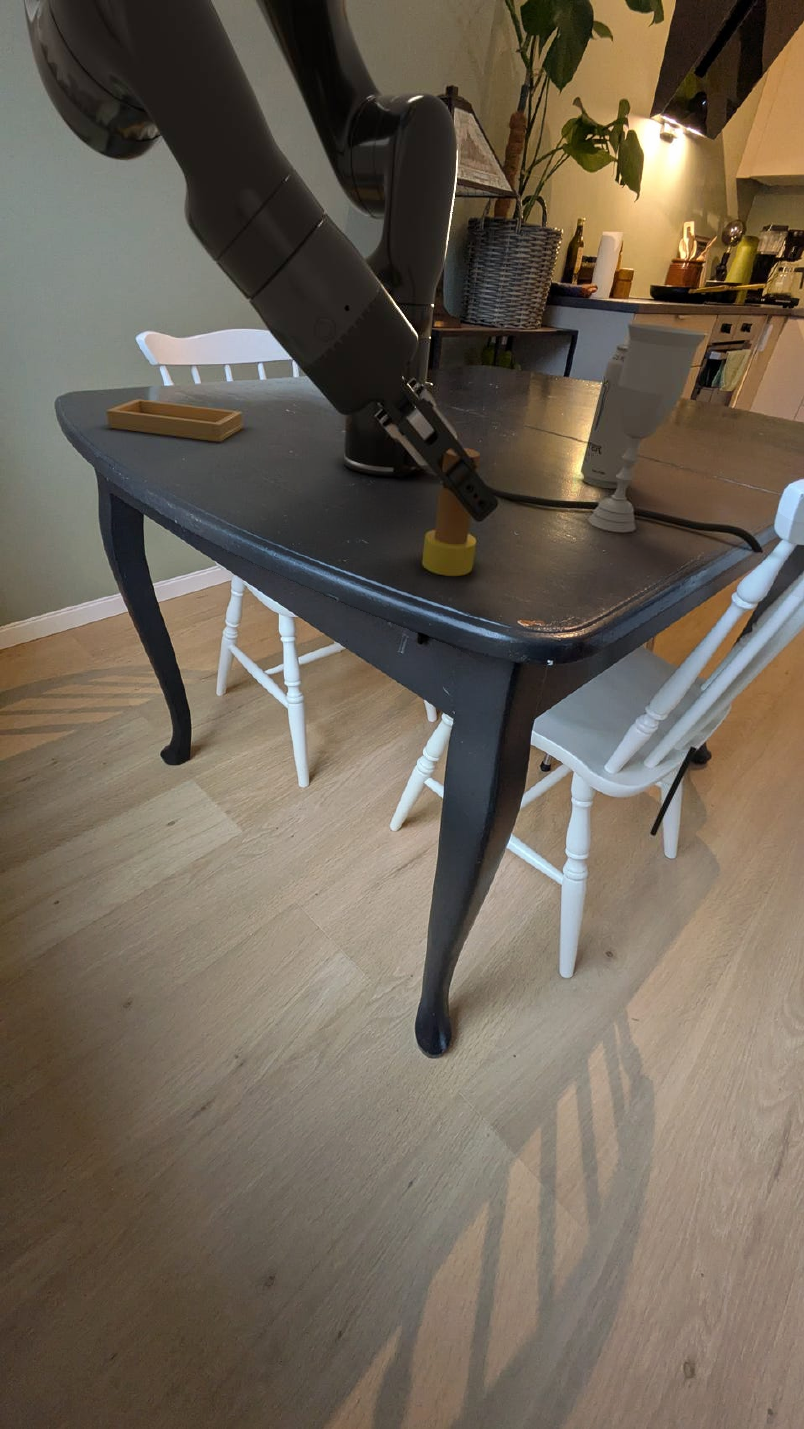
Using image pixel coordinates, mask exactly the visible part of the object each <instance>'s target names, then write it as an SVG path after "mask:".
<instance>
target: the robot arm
mask: <svg viewBox="0 0 804 1429" xmlns="http://www.w3.org/2000/svg"><path fill="white" fill-rule="evenodd" d="M254 2H255V5H256V6H257V8H258V10H259V12H260V15H261V16H262V18H263V20H264V22H265V25H266V26H267V28H268V31H269V33H270V34H271V37H272V38H273V41H274V43H275V45H276V47H277V48H278V51H279V53H280V54H281V56H282V59H283V61H284V63H285V65H286V66H287V69H288V71H289V72H290V75H291V77H292V79H293V81H294V83H295V86H296V88H297V90H298V91H299V92H298V93H299V95H300V97H301V98H302V101H303V103H304V106H305V109H306V111H307V113H308V115H309V118H310V121H311V123H312V125H313V127H314V129H315V133H316V135H317V137H318V139H319V142H320V144H321V148H322V149H323V152H324V154H325V156H326V159H327V162H328V164H329V166H330V168H331V170H332V173H333V175H334V178H335V179H336V182H337V184H338V185H339V188H340V190H341V191H342V194H343V195H344V196H345V199H346V201H348V203H349V204H350V205H351V207H352V208H353V209H354V210H356V211H357V212H358V213H359V214H361V215H363V216H364V217H368V218H371V219H374V220H382V221H383V223H382V229H381V236H380V238H379V242H378V244H377V245H376V247H375V248H373V250H372V252H370V253H369V254H368V255H367V256H365V257H364V256H363V255H362V254H361V252H360V251H359V250H358V248H357V247H356V245H355V244H354V243H353V242H352V241H351V240H350V239H349V237H348V236H347V235H346V234H345V233H344V232H343V230H341V228H339V227H338V225H337V224H336V223H335V222H334V221H333V219H332V218H331V217H330V216H329V214H328V213H327V212H325V209H324V208H323V206H322V205H321V204H320V202H319V201H318V199H317V198H316V197H315V195H314V194H313V192H312V191H311V190H310V188H309V187H308V185H307V184H306V183H305V181H304V180H303V178H302V177H301V175H300V174H299V172H298V171H297V170H296V169H295V168H294V166H293V165H292V163H291V162H290V160H289V159H288V158H287V157H286V156H285V154H284V152H282V150H281V148H280V147H279V146H278V144H277V143H276V140H275V138H274V135H273V134H272V132H271V129H270V127H269V125H268V122H267V120H266V117H265V115H264V112H263V109H262V107H261V104H260V102H259V100H258V98H257V96H256V93H255V91H254V89H253V87H252V85H251V83H250V81H249V78H248V76H247V74H246V72H245V70H244V68H243V66H242V63H241V62H240V59H239V57H238V55H237V52H236V50H235V49H234V46H233V44H232V42H231V40H230V38H229V36H228V33H227V31H226V29H225V27H224V25H223V23H222V21H221V19H220V16H219V14H218V11H217V10H216V8H215V6H214V4H213V2H212V0H23V6H24V14H25V22H26V27H27V32H28V38H29V42H30V47H31V52H32V55H33V59H34V62H35V66H36V69H37V73H38V75H39V77H40V78H39V79H40V80H41V82H42V86H43V88H44V90H45V93H46V94H47V96H48V98H49V101H50V102H51V104H52V105H53V107H54V109H55V111H56V113H57V114H58V115H59V117H60V119H62V121H63V122H64V124H65V125H66V126H67V128H68V129H69V130H70V131H71V132H72V133H73V134H74V136H76V137H77V139H78V140H80V141H81V142H82V143H83V144H84V145H86V146H87V147H88V148H89V149H91V150H92V151H94V152H95V153H97V154H99V155H101V156H103V157H105V158H108V159H112V160H116V161H121V162H122V161H123V162H129V161H135V160H139V159H142V158H143V157H144V158H145V157H146V156H147V155H148V154H150V153H152V151H153V150H155V149H156V148H157V147H158V146H159V145H160V144H161V142H162V140H163V141H164V142H165V144H166V146H167V147H168V150H169V151H170V152H171V155H172V156H173V158H174V159H175V161H176V163H177V164H178V166H179V168H180V170H181V172H182V174H183V178H184V181H185V194H184V195H185V197H184V202H183V203H184V206H183V213H184V218H185V222H186V224H187V227H188V229H189V232H191V234H192V236H193V237H194V238H195V240H196V241H197V243H198V244H199V245H200V246H201V248H202V249H203V250H204V251H205V253H206V254H207V255H208V256H209V257H210V258H211V260H212V261H213V262H214V263H215V265H217V266H218V268H219V269H220V270H221V271H222V272H223V273H224V275H225V276H226V277H227V279H228V280H229V281H230V282H231V283H232V284H233V286H235V287H236V289H237V290H238V291H239V292H240V293H241V294H242V296H243V297H244V298H245V299H246V300H248V303H249V305H250V306H251V307H252V309H253V310H254V311H255V312H256V314H257V315H258V317H259V318H260V320H261V321H262V323H263V324H264V326H265V327H266V329H267V330H268V332H269V333H270V334H271V336H272V337H273V338H274V339H275V340H276V342H277V343H278V344H279V345H280V347H282V349H283V350H284V351H285V352H286V353H287V355H288V356H289V357H290V358H291V359H292V360H293V361H294V362H295V364H296V365H297V366H298V367H299V368H300V369H301V371H302V372H303V373H304V374H305V375H306V376H307V378H308V379H309V380H310V381H311V382H312V384H313V385H314V386H315V387H316V389H318V391H319V392H320V393H321V394H322V395H323V396H324V397H325V398H326V400H327V401H328V402H329V403H330V405H332V407H333V408H334V409H335V410H336V411H337V412H338V413H339V414H341V415H344V416H345V419H344V420H345V422H344V453H343V465H345V467H347V468H349V469H351V470H353V471H355V472H359V473H362V474H368V475H373V476H382V477H395V478H398V479H403V478H406V477H408V476H410V475H413V474H414V473H416V472H419V471H421V470H427V469H430V470H432V471H433V473H434V474H435V476H436V477H437V478H438V479H439V480H440V485H441V484H442V486H443V487H444V488H445V489H448V490H449V491H450V492H451V491H452V493H453V494H454V495H455V496H456V498H457V499H458V500H459V501H460V503H461V504H462V505H463V506H464V508H465V509H466V510H467V511H468V513H469V514H470V515H471V517H472V519H473V520H474V521H475V522H477V523H479V522H483V521H484V520H485V519H486V518H487V517H488V516H490V514H492V513H493V512H494V511H495V510H496V509H497V508H498V506H499V501H498V499H497V498H496V497H498V498H501V499H504V500H508V501H512V502H513V501H514V502H518V503H524V504H530V505H535V506H541V507H547V508H557V509H558V508H559V509H574V510H575V509H577V510H593V511H594V510H595V509H596V508H597V507H598V506H599V505H598V504H599V503H600V502H601V501H600V502H599V501H581V500H564V499H563V500H562V499H552V498H551V499H550V498H545V497H540V496H539V497H538V496H533V495H526V494H521V493H514V492H510V491H504V490H502V489H498V488H494V487H492V486H490V485H488V484H486V483H485V482H484V481H483V479H482V478H481V476H480V475H479V474H478V472H477V473H476V471H475V469H476V468H477V466H476V465H475V464H474V463H475V460H474V459H473V458H472V457H469V456H468V454H467V453H466V452H465V450H464V449H463V448H464V447H463V446H462V445H461V444H460V442H459V441H458V435H457V432H456V430H455V428H454V427H453V426H452V424H451V423H450V422H449V421H448V420H447V418H446V417H445V416H444V414H442V412H441V411H440V410H439V408H437V403H436V400H435V398H434V396H433V394H434V385H433V383H432V382H428V370H429V361H430V349H431V339H432V337H431V336H432V329H433V320H434V319H433V317H434V307H435V305H434V304H435V301H436V300H435V299H436V291H437V288H438V284H439V282H440V279H441V276H442V274H443V270H444V267H445V262H446V255H447V249H448V241H449V235H450V228H451V227H450V226H451V222H452V221H451V220H452V214H453V213H452V212H453V207H454V201H455V200H454V199H455V193H456V186H457V177H458V176H457V174H458V140H457V132H456V126H455V122H454V119H453V116H452V114H451V112H450V109H449V108H448V106H447V104H446V103H445V102H444V101H443V100H442V99H441V98H439V97H438V96H436V95H435V94H432V93H427V92H407V93H394V94H383V93H382V92H381V91H380V90H379V88H378V87H377V85H376V83H375V81H374V79H373V78H372V76H371V74H370V71H369V70H368V67H367V65H366V63H365V61H364V58H363V55H362V53H361V51H360V48H359V46H358V43H357V40H356V38H355V35H354V32H353V29H352V25H351V22H350V18H349V14H348V9H347V4H346V0H254ZM449 449H451V450H452V451H453V452H454V453H455V455H456V456H457V457H458V458H459V459H458V460H457V461H456V462H454V463H453V464H452V465H451V466H450V467H449V468H448V469H447V470H446V471H445V472H443V471H442V468H443V459H444V454H445V453H446V452H447V451H448V450H449ZM632 507H633V509H634V511H633V514H634V516H635V517H636V516H637V517H640V518H641V517H642V518H645V519H651V520H655V521H659V522H663V523H666V524H670V525H674V526H679V527H681V528H682V527H683V528H686V529H690V530H694V531H695V530H696V531H702V532H703V531H704V532H714V533H722V534H723V533H724V534H729V535H732V536H735V537H738V538H740V539H741V540H742V541H744V542H745V543H746V544H747V545H748V546H749V547H750V549H751V551H753V552H756V553H759V554H763V553H764V550H763V548H762V546H761V544H760V543H759V541H758V540H757V538H755V536H753V535H752V534H751V533H749V531H747V530H745V529H743V528H741V527H738V526H736V525H735V526H734V525H729V524H723V523H722V524H721V523H710V522H709V523H708V522H700V521H695V520H691V519H686V518H682V517H678V516H674V515H670V514H666V513H661V512H658V511H653V510H648V509H644V508H639V507H634V506H632ZM697 750H698V748H697V747H694V746H690V747H689V749H688V751H687V753H686V755H685V757H684V759H683V761H682V763H681V765H680V767H679V769H678V771H677V774H676V776H675V778H674V779H673V782H672V784H671V786H670V788H669V790H668V792H667V794H666V796H665V799H664V801H663V803H662V805H661V808H660V809H659V811H658V813H657V815H656V818H655V820H654V823H653V825H652V827H651V830H650V832H649V833H650V835H651V836H653V837H655V836H656V835H657V833H658V831H659V828H660V827H661V824H662V822H663V820H664V818H665V815H666V813H667V811H668V809H669V806H670V805H671V802H672V801H673V798H674V797H675V794H676V792H677V790H678V788H679V787H680V784H681V782H682V780H683V778H684V776H685V774H686V772H687V770H688V768H689V766H690V764H691V762H692V760H693V758H694V756H695V754H696V752H697Z"/></svg>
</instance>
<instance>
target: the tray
mask: <svg viewBox="0 0 804 1429" xmlns="http://www.w3.org/2000/svg"><path fill="white" fill-rule="evenodd" d="M106 417H107V422H108V427H109V428H110V429H117V430H123V431H130V432H132V431H133V432H141V433H148V434H155V435H162V436H171V437H179V438H186V439H187V438H188V439H194V440H202V441H210V442H217V443H221V442H222V441H224V440H226V439H227V438H229V437H231V436H233V435H234V434H235V433H237V432H239V431H240V430H241V429H243V415H242V411H235V410H229V409H220V408H213V407H204V406H197V405H187V404H179V403H172V402H164V401H156V400H148V399H142V398H141V399H140V398H136V399H134V400H133V399H132V400H131V401H128V402H125V403H123V404H120V405H117V406H115V407H111V408H109V409H107V410H106Z"/></svg>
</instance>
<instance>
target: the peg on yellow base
mask: <svg viewBox="0 0 804 1429" xmlns="http://www.w3.org/2000/svg"><path fill="white" fill-rule="evenodd" d="M462 448H463V449H464V450H465V452H466V453H467V454H468V456H469V457H472V458H473V459H474V460H475V463H474V464H475V465H476V466H477V468H476V469H475V471H476V473H477V474H478V470H479V465H480V464H479V463H480V458H481V457H480V456H481V454H480V452H478V451H476V450H474V449H471V448H466V447H462ZM458 459H459V458H458V457H457V456H456V455H455V453H454V452H453V451H452V450H451V449H449V450H448V451H447V452H446V453H445V454H444V459H443V468H442V471H443V472H445V471H446V470H447V469H448V468H449V467H450V466H451V465H452V464H453V463H454V462H456V461H457V460H458ZM471 517H472V516H471V515H470V514H469V513H468V511H467V510H466V509H465V508H464V506H463V505H462V504H461V503H460V501H459V500H458V499H457V498H456V496H455V495H454V494H453V493H452V491H451V492H450V491H449V490H448V489H445V488H444V487H443V486H442V484H441V483H440V485H439V494H438V504H437V511H436V520H435V528H434V529H432V530H429V531H427V532H426V533H425V535H424V541H423V542H424V543H423V553H422V561H421V563H422V567H423V568H425V570H427V571H428V572H431V573H433V574H435V575H441V576H445V577H460V576H465V575H467V574H469V573H470V572H472V570H473V565H474V560H475V553H476V546H477V539H476V538H475V537H474V536H473V535H472V534H470V533H469V530H470V523H471Z"/></svg>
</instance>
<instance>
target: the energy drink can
mask: <svg viewBox="0 0 804 1429" xmlns="http://www.w3.org/2000/svg"><path fill="white" fill-rule="evenodd" d="M628 345H629V344H617V345H616V349H615V351H614V352H613V353H612V355H611V356H610V357H609V359H608V360H607V362H606V366H605V370H604V374H603V378H602V383H601V386H600V390H599V394H598V399H597V403H596V407H595V410H594V415H593V418H592V419H593V420H592V424H591V427H590V431H589V436H588V439H587V444H586V447H585V452H584V456H583V460H582V464H581V469H580V473H581V474H582V476H583V478H582V480H583V482H585V483H586V484H588V485H590V486H593V487H597V488H600V489H601V488H602V489H617V486H618V479H617V477H616V475H618V474H619V473H620V472H621V470H622V468H623V459H622V456H624V455H625V453H626V451H627V449H628V447H629V443H630V436H628V435H627V434H626V433H625V432H623V427H622V421H621V415H620V408H619V388H618V384H619V380H620V376H621V372H622V368H623V364H624V360H625V356H626V353H627V349H628Z"/></svg>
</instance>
